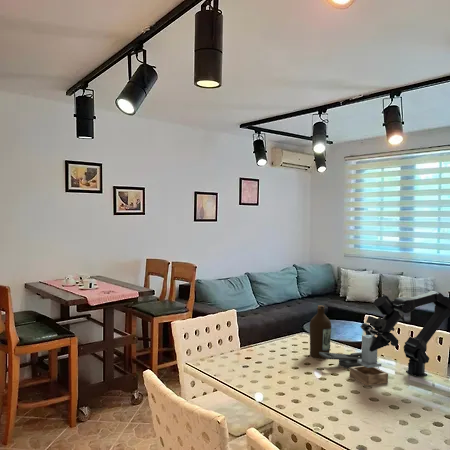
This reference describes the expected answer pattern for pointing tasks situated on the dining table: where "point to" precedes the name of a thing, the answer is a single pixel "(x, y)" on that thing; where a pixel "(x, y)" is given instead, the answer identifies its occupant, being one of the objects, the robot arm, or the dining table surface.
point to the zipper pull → (344, 358)
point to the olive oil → (320, 333)
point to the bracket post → (368, 352)
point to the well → (368, 375)
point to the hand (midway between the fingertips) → (366, 349)
